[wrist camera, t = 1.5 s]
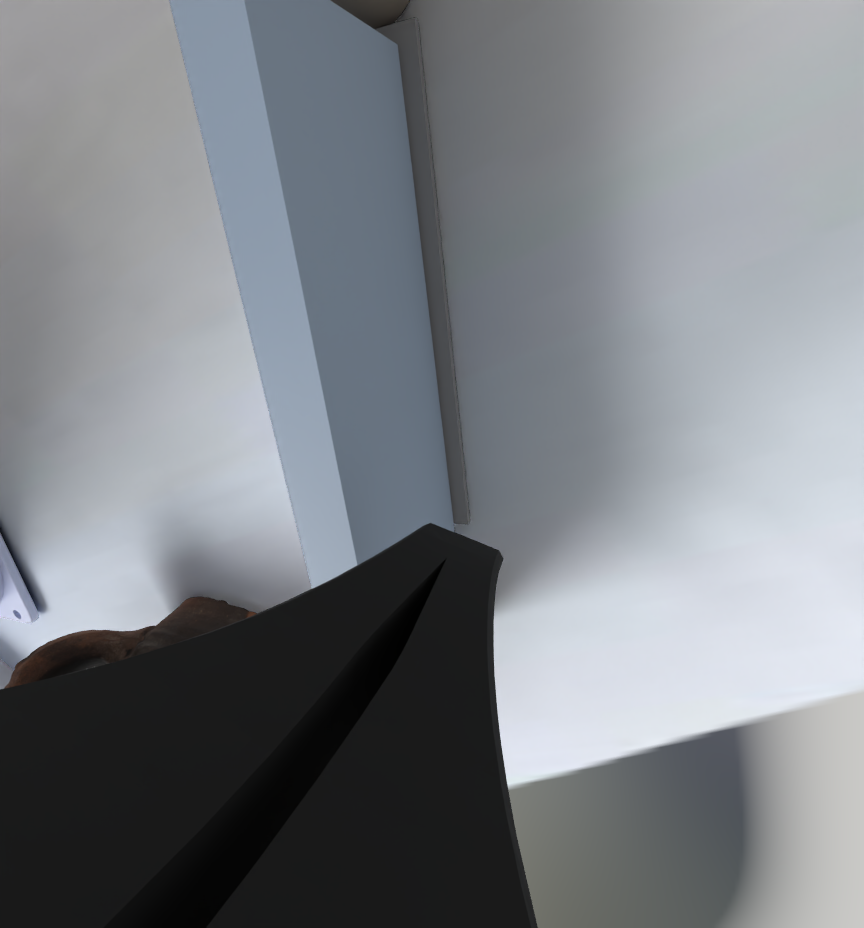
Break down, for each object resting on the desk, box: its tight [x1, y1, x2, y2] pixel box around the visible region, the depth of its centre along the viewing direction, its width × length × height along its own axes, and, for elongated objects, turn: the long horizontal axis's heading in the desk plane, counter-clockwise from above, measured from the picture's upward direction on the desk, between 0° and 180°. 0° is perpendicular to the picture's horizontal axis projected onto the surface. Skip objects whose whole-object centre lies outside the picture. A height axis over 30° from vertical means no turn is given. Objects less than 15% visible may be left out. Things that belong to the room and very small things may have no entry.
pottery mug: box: [4, 597, 257, 688], centre depth 21 cm, size 12×10×8 cm
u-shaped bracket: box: [330, 0, 470, 524], centre depth 11 cm, size 2×20×6 cm, turn 7°
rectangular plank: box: [169, 0, 455, 589], centre depth 12 cm, size 12×2×5 cm, turn 7°
